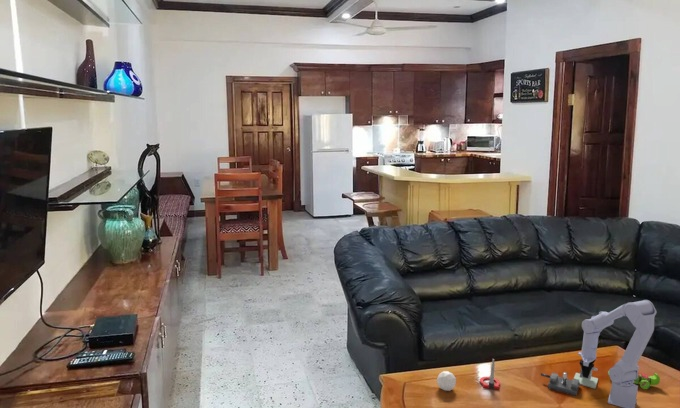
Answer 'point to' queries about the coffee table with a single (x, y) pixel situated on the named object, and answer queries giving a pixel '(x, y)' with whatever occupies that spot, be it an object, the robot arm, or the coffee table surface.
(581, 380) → the set down mat
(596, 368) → the hollow square tube
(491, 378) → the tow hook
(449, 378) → the geometric ball
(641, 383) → the toy crocodile
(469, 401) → the coffee table surface
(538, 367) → the coffee table surface
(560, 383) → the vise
